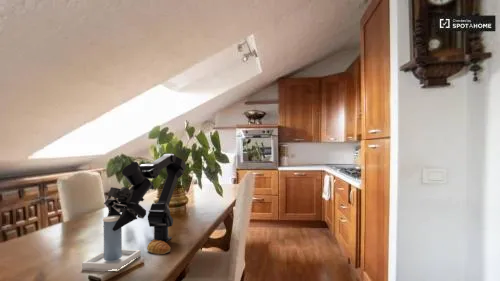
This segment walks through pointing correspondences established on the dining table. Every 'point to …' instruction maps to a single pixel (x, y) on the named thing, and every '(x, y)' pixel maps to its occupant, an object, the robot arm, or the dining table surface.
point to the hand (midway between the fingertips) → (108, 229)
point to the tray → (102, 265)
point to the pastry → (158, 247)
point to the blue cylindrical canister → (112, 239)
